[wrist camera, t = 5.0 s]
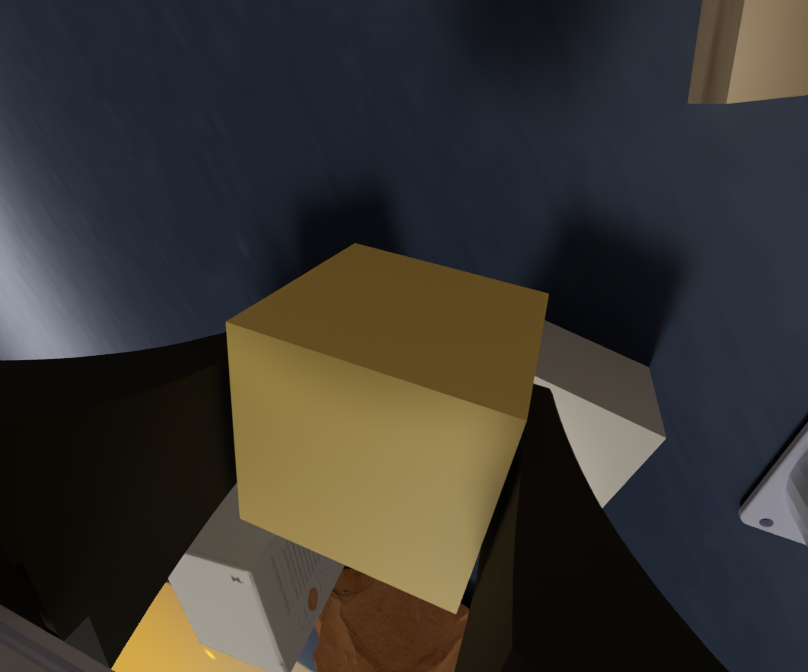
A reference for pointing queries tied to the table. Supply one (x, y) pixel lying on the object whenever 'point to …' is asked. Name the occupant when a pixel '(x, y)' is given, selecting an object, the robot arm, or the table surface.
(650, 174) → the table surface
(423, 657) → the stone
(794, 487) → the robot arm
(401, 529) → the mustard cube
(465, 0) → the table surface
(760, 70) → the maple cube
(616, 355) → the grey cube
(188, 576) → the small box
